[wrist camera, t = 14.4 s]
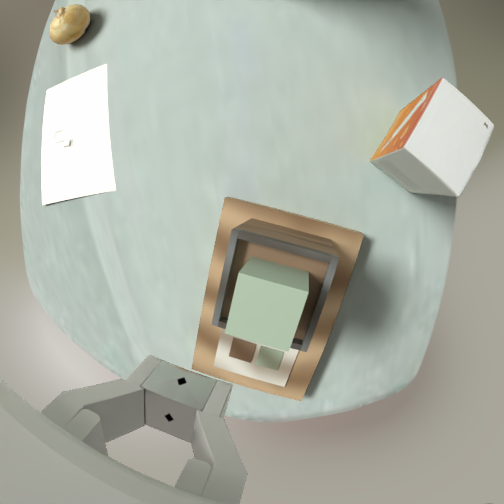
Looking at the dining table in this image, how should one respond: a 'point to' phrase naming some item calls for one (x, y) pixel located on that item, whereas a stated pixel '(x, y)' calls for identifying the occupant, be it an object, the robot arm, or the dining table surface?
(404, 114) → the small box
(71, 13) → the onion
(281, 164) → the dining table surface
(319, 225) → the oak base board
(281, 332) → the sage block
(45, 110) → the paper sheet
